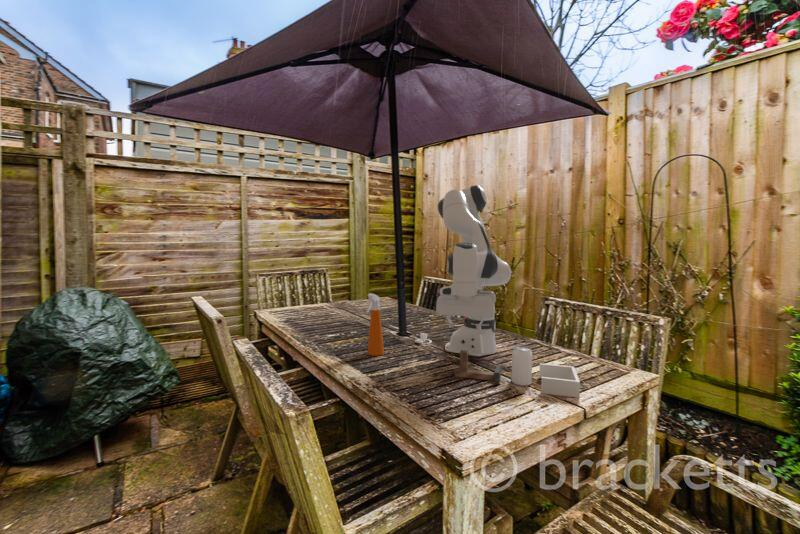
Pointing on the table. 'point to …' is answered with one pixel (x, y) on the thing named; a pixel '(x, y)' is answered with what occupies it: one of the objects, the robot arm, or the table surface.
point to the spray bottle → (375, 327)
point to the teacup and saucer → (422, 338)
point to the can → (522, 365)
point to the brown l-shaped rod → (476, 374)
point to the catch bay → (559, 380)
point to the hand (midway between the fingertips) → (464, 328)
